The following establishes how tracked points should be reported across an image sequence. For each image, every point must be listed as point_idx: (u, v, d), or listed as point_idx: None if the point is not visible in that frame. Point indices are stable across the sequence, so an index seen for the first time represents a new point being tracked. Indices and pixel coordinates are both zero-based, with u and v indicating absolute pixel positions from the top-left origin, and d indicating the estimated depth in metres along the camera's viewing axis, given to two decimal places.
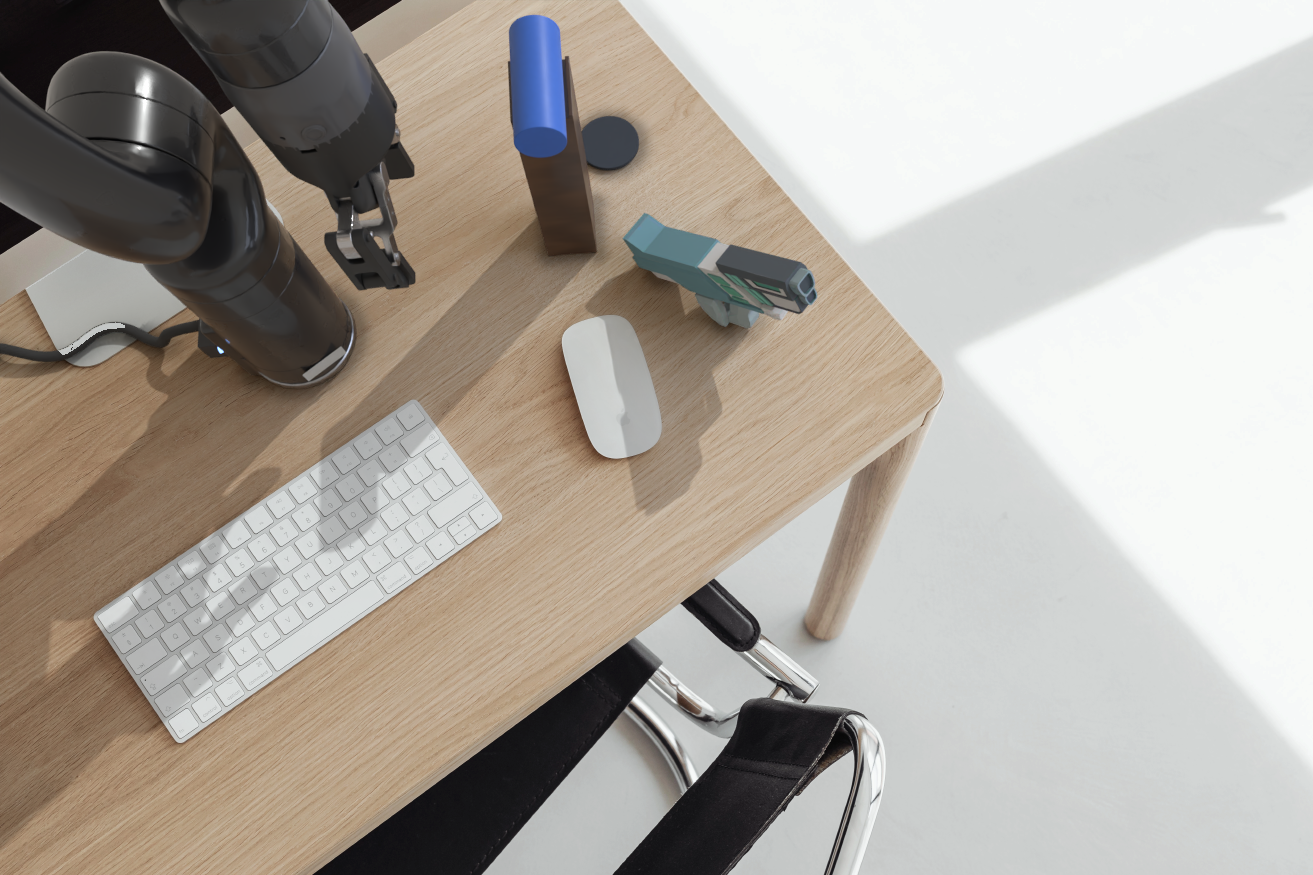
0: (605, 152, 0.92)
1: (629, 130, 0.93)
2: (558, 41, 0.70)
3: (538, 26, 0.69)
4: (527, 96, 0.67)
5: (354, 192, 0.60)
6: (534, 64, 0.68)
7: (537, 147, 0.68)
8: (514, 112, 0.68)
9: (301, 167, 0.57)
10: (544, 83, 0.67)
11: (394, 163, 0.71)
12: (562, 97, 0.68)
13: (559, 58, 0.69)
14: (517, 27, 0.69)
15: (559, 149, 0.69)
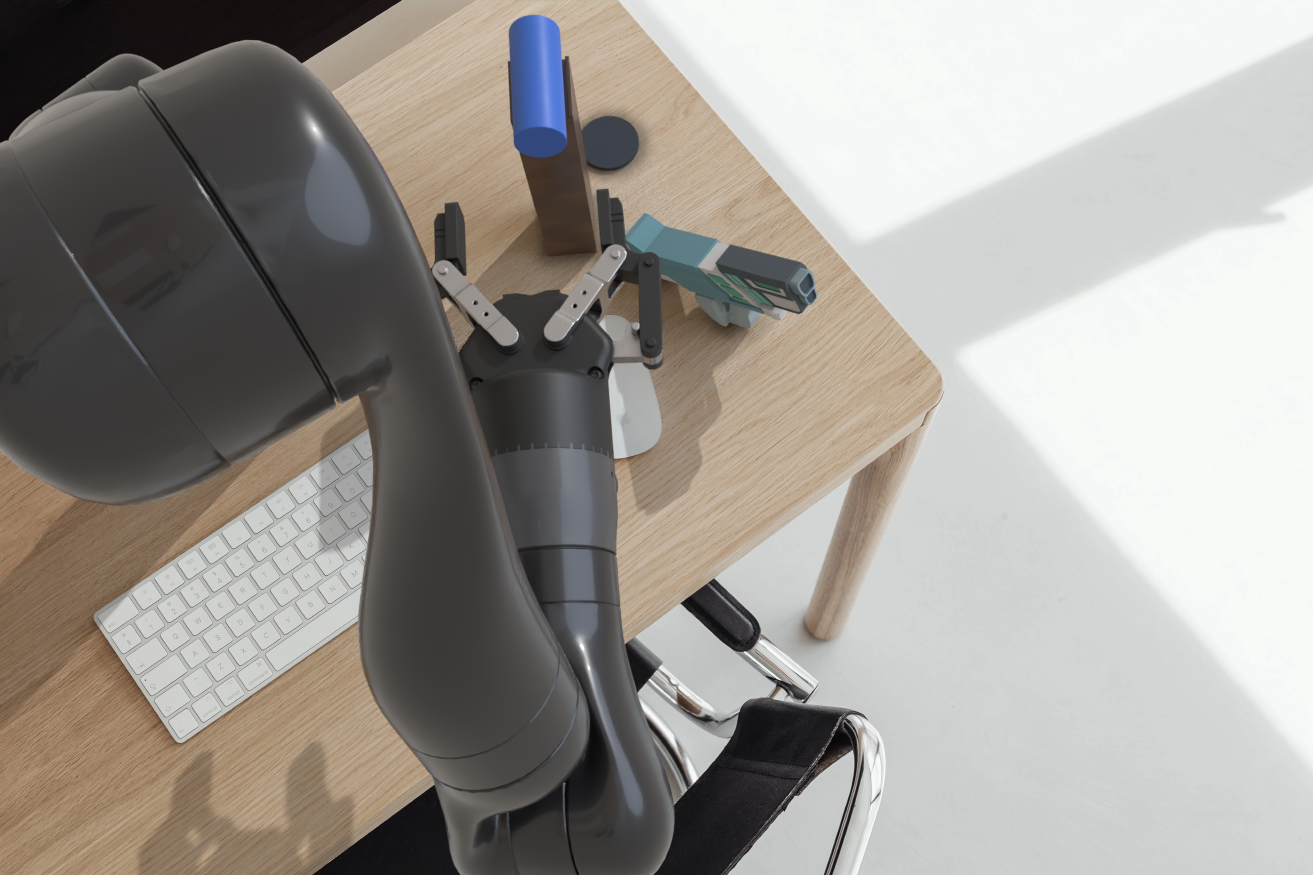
0: (605, 152, 0.92)
1: (629, 130, 0.93)
2: (558, 41, 0.70)
3: (538, 26, 0.69)
4: (527, 96, 0.67)
5: None
6: (534, 64, 0.68)
7: (537, 147, 0.68)
8: (514, 112, 0.68)
9: None
10: (544, 83, 0.67)
11: None
12: (562, 97, 0.68)
13: (559, 58, 0.69)
14: (517, 27, 0.69)
15: (559, 149, 0.69)
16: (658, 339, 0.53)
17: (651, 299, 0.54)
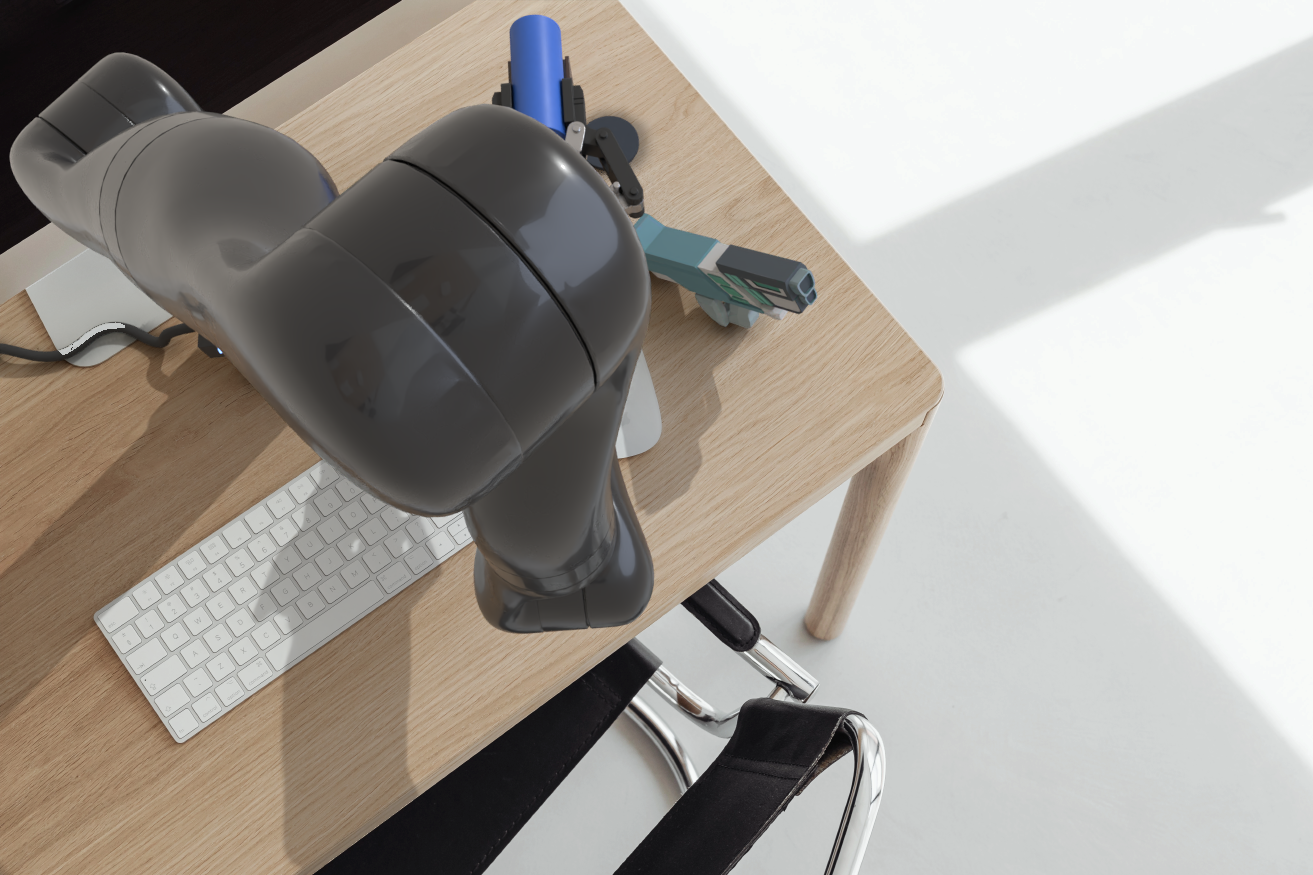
0: None
1: (629, 130, 0.93)
2: (559, 41, 0.70)
3: (539, 26, 0.69)
4: (528, 96, 0.67)
5: None
6: (535, 64, 0.68)
7: None
8: None
9: None
10: (545, 83, 0.67)
11: None
12: None
13: (560, 58, 0.69)
14: (518, 27, 0.69)
15: None
16: (638, 187, 0.65)
17: (619, 161, 0.66)
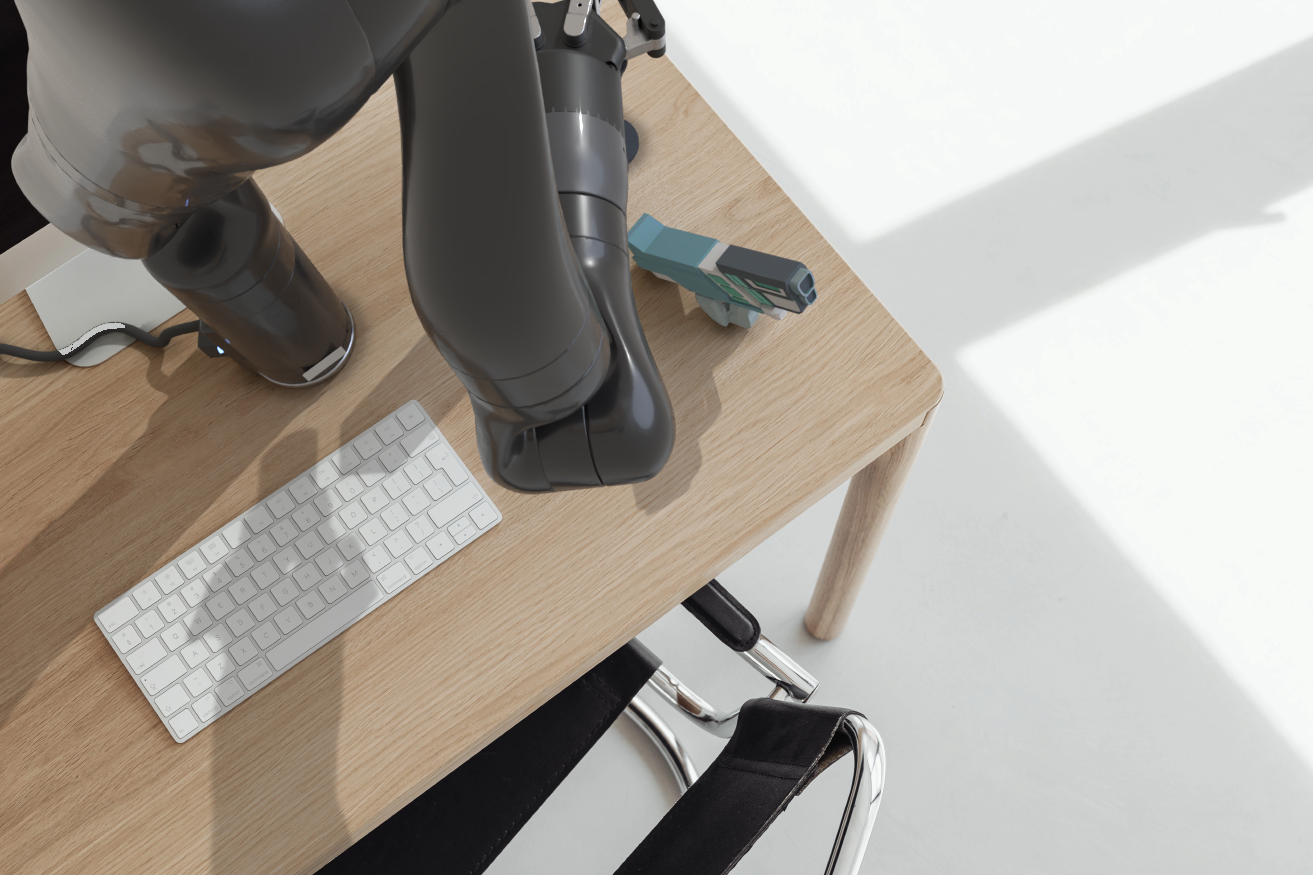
0: None
1: (629, 130, 0.93)
2: None
3: None
4: None
5: None
6: None
7: None
8: None
9: None
10: None
11: None
12: None
13: None
14: None
15: None
16: (659, 18, 0.59)
17: None
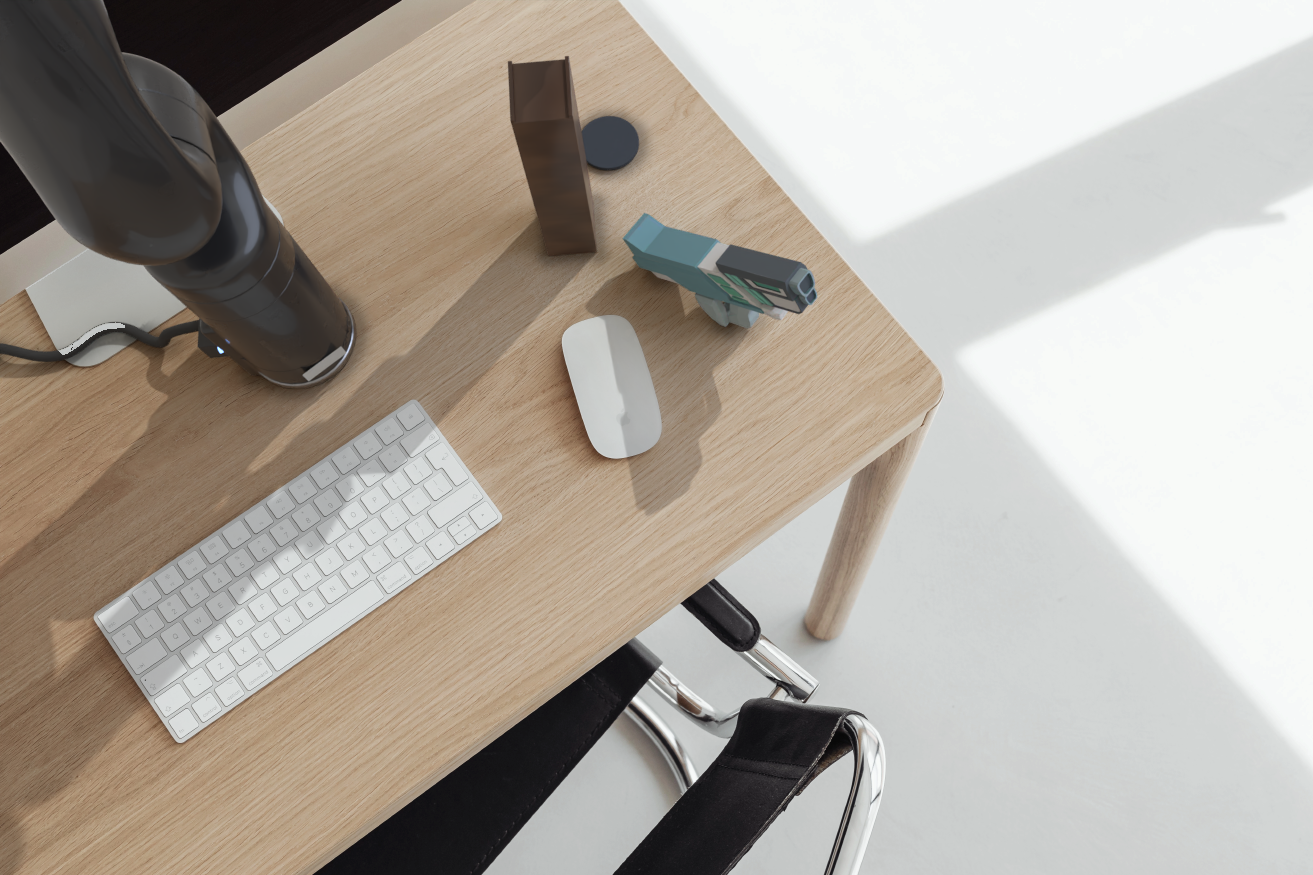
0: (605, 152, 0.92)
1: (629, 130, 0.93)
2: None
3: None
4: None
5: None
6: None
7: None
8: None
9: None
10: None
11: None
12: None
13: None
14: None
15: None
16: None
17: None
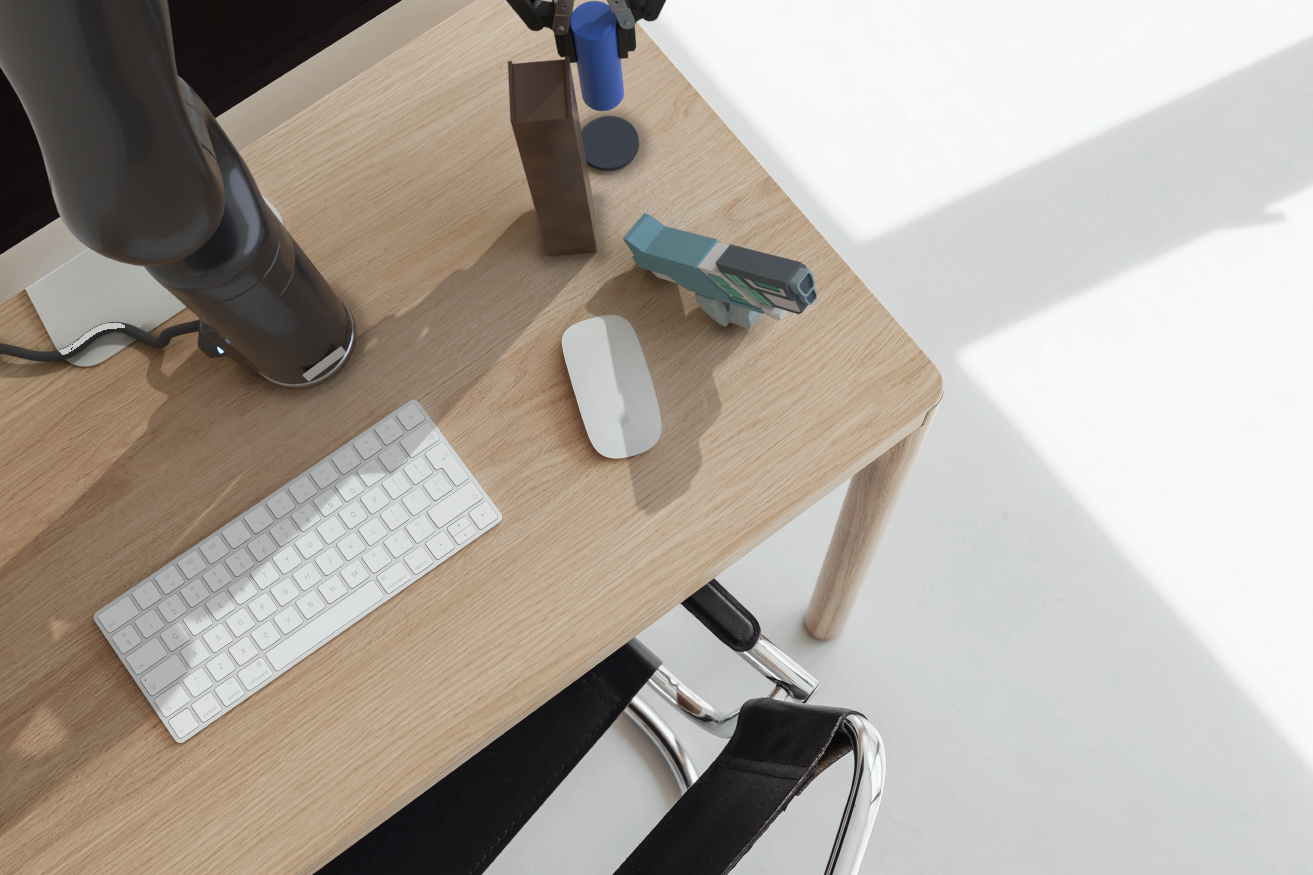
0: (605, 152, 0.92)
1: (629, 130, 0.93)
2: (581, 90, 0.84)
3: (597, 104, 0.84)
4: (603, 60, 0.78)
5: None
6: (599, 81, 0.81)
7: (596, 14, 0.77)
8: (615, 45, 0.78)
9: None
10: (589, 68, 0.79)
11: None
12: (575, 53, 0.79)
13: (579, 79, 0.82)
14: (614, 102, 0.84)
15: (577, 11, 0.77)
16: None
17: (519, 7, 0.73)
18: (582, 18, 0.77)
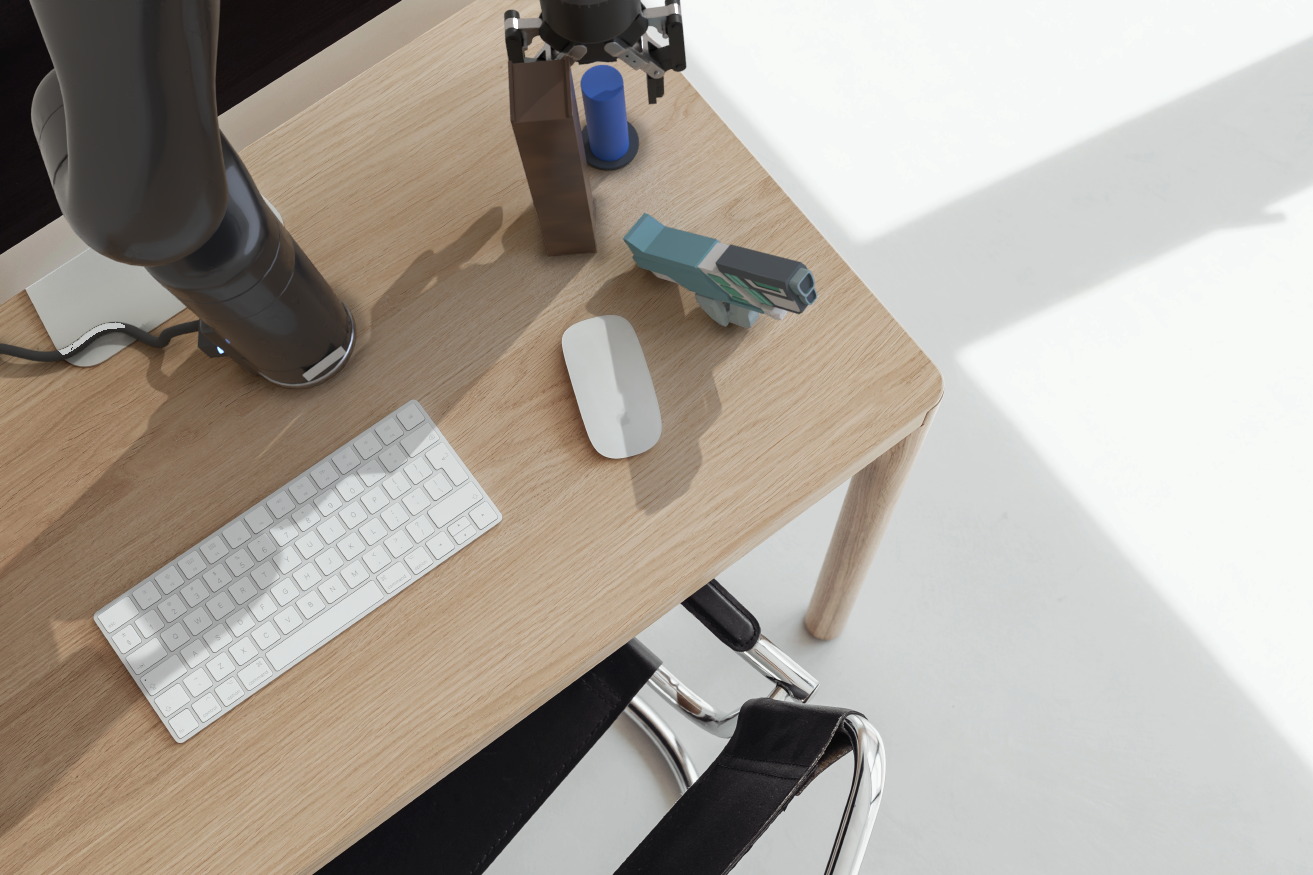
0: None
1: (629, 130, 0.93)
2: (590, 142, 0.91)
3: (604, 155, 0.91)
4: (611, 117, 0.86)
5: None
6: (606, 135, 0.88)
7: (604, 77, 0.84)
8: (622, 105, 0.85)
9: None
10: (597, 125, 0.87)
11: None
12: None
13: (588, 133, 0.89)
14: (620, 153, 0.91)
15: (587, 74, 0.84)
16: (508, 43, 0.77)
17: (515, 62, 0.79)
18: (591, 81, 0.84)
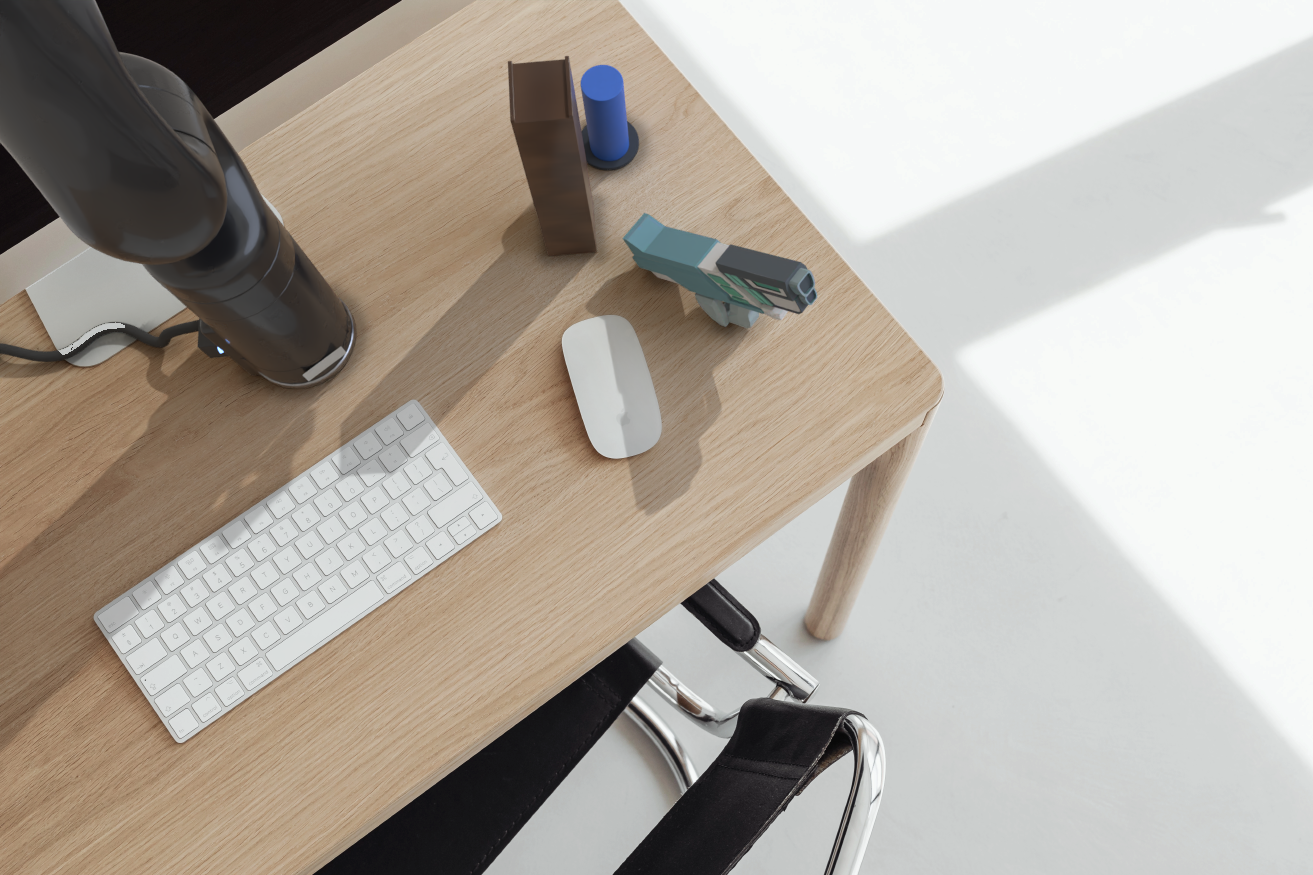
0: None
1: (629, 130, 0.93)
2: (590, 142, 0.91)
3: (604, 155, 0.91)
4: (611, 117, 0.86)
5: None
6: (606, 135, 0.88)
7: (604, 77, 0.84)
8: (622, 105, 0.85)
9: None
10: (597, 125, 0.87)
11: None
12: None
13: (588, 133, 0.89)
14: (620, 153, 0.91)
15: (587, 74, 0.84)
16: None
17: None
18: (591, 81, 0.84)
